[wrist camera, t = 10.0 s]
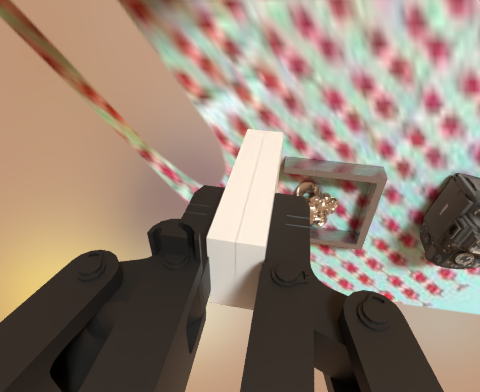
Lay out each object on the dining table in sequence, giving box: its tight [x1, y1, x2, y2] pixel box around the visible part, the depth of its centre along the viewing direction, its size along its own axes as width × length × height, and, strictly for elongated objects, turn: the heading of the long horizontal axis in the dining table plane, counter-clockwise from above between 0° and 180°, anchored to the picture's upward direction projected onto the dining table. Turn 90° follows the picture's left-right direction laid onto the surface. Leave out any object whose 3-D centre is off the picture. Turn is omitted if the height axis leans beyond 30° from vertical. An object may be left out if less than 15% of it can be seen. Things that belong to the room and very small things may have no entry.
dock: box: [283, 157, 387, 250], centre depth 48 cm, size 14×14×3 cm
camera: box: [420, 173, 480, 269], centre depth 42 cm, size 13×10×10 cm
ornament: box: [296, 181, 339, 227], centre depth 49 cm, size 8×7×4 cm
